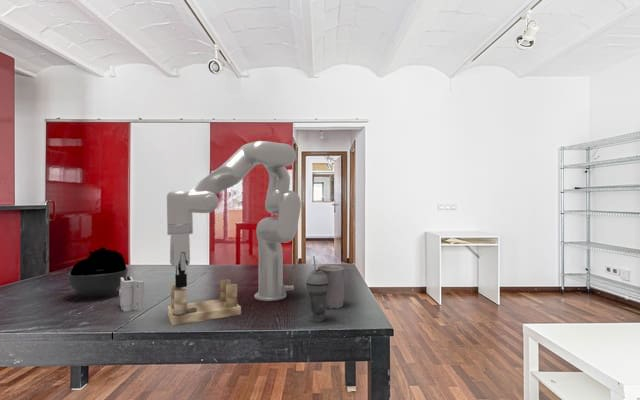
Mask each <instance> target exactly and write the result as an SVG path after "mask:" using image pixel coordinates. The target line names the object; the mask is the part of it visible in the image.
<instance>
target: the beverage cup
mask: <svg viewBox="0 0 640 400" xmlns="http://www.w3.org/2000/svg"><path fill="white" fill-rule="evenodd" d="M312 260H313V261H312V262H313V267H314V270H312V271H310V273H309V274H308V276H307V277H306V283H305V284H306V290H307V296H308V297H307V298H308V300H307V301H308V310H309V319H310V321H311V322H315V323H319V322H320V321H321V322H324V321H325V317H326V309H325V308H326V296H327V289H328V284H329V282H328V278H327V275H326V274H325V273H324V272H323V271H321V270H318V269H317V266H316V257H315V256H314V255H313V256H312ZM323 320H324V321H323ZM321 322H320V323H321Z"/></svg>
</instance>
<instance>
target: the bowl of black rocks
mask: <svg viewBox="0 0 640 400" xmlns="http://www.w3.org/2000/svg"><path fill="white" fill-rule="evenodd" d="M88 253H89V254H90V255H89V256H88V257H87V258H85V259H82V260H79V261H78V262H76V263H75V264H74V265H72V266H73V267H72V269H71V271H70V272H68V273H67V275H66V276H67V280H68V283H69V285H70V287H71V288H72V289H73V290H74V291H75V292H76V293H78V294H80V295H82V296H85V297H90V298H98V297H103V296H106V295H110V294H111V293H113V292H115V291H116V290H117V289H118V288H120V283H121V277H125V278H126V279H127V276H128V275H127V274H128V268H127V265H126V262H125V258H124V256H123V254H122V253H121V252H119V251H116V250H114V249H113V250H111V249H106V247H105V246H104V247H100V248H98V249H96V250H94V251H89V252H88Z"/></svg>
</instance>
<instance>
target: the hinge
mask: <svg viewBox="0 0 640 400" xmlns="http://www.w3.org/2000/svg"><path fill="white" fill-rule="evenodd" d="M144 285H145V282H144V280H134V278H133V276H128V275H126V278H125V277H121V283H120V286H119V290H118V297H119V306H120V309H121V311H123V312H131V311H140V312H143V311H144V291H145V290H144V289H145V288H144Z"/></svg>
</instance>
